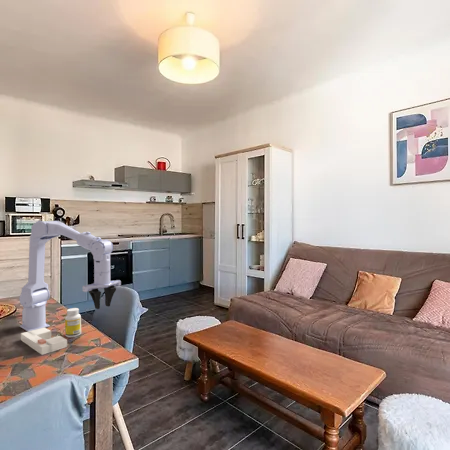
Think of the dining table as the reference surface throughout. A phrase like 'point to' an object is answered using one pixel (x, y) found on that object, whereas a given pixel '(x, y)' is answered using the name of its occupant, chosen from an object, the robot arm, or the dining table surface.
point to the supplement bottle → (73, 323)
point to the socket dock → (43, 341)
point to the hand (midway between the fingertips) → (102, 307)
